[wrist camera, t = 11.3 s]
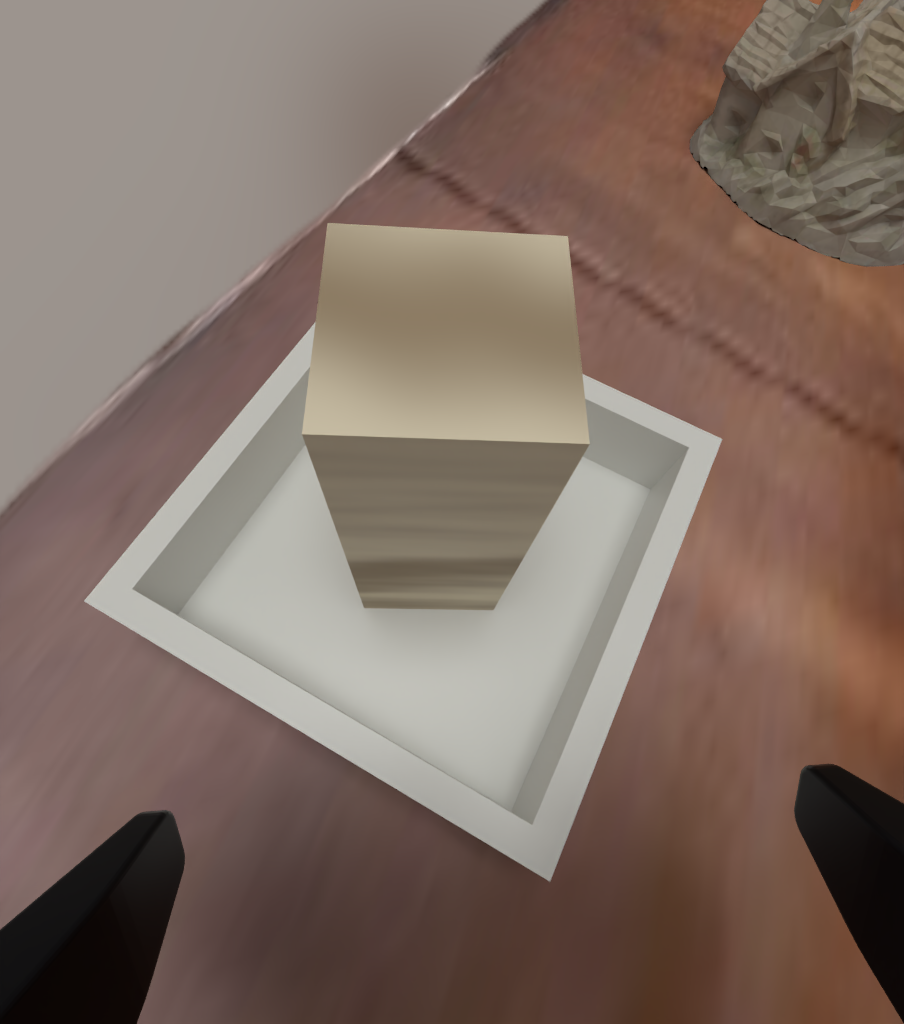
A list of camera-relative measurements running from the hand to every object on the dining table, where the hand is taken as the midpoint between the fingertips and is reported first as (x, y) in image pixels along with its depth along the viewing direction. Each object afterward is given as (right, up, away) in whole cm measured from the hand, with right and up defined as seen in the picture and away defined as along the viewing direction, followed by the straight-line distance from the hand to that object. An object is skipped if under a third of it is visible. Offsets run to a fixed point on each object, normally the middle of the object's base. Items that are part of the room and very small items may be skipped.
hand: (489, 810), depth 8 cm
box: (-1, +3, +15) cm, 16 cm away
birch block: (-1, +3, +15) cm, 15 cm away
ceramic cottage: (+23, +26, +27) cm, 44 cm away
